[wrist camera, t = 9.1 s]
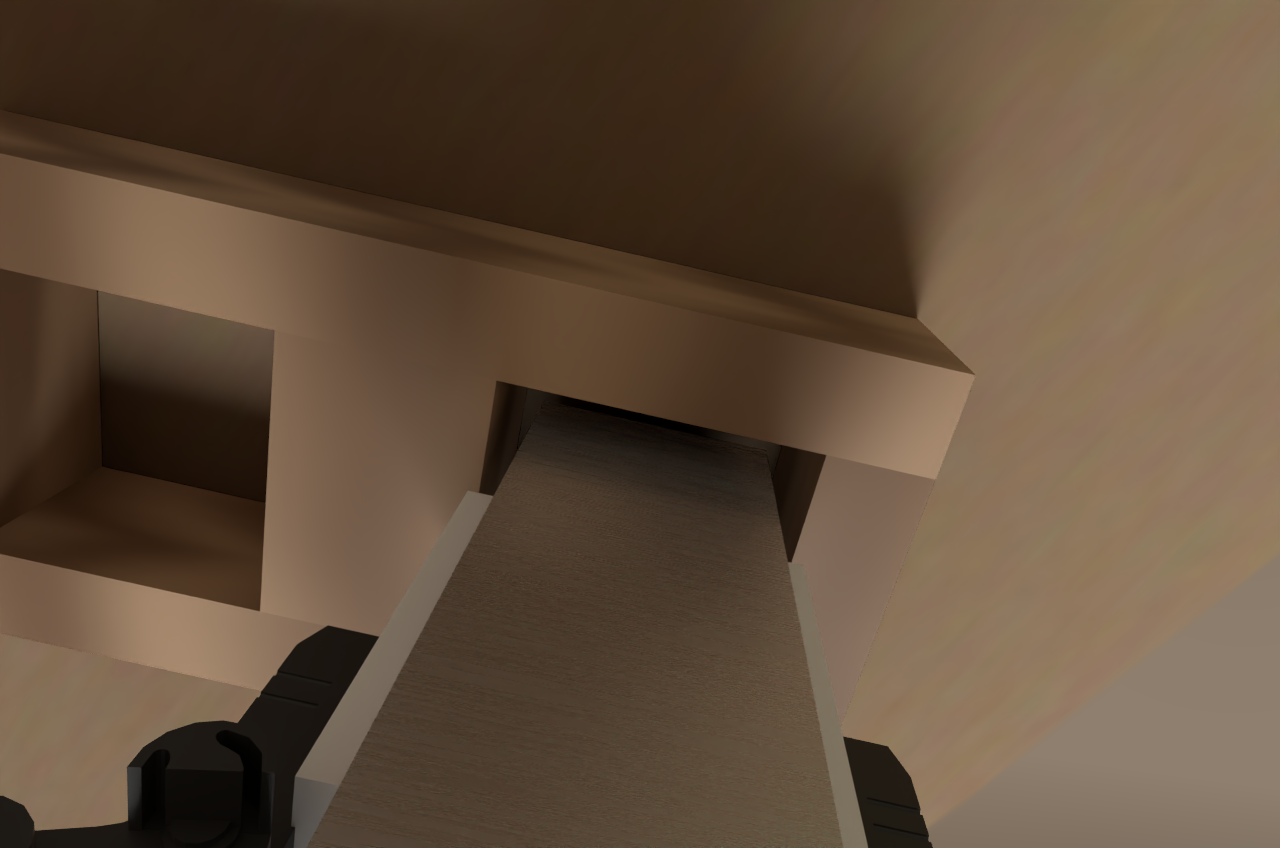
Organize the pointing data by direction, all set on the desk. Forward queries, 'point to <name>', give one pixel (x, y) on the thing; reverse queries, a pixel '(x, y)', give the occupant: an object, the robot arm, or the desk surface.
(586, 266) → the brown holed block
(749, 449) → the steel peg
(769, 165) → the desk surface
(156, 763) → the robot arm
